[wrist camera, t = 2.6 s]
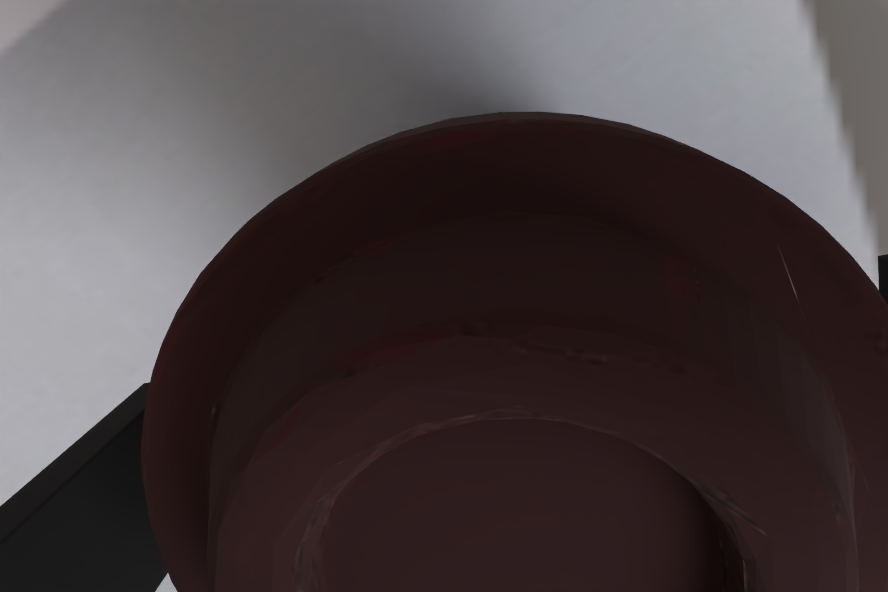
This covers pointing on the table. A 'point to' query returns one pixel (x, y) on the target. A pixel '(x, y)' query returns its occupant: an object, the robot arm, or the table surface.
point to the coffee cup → (524, 379)
